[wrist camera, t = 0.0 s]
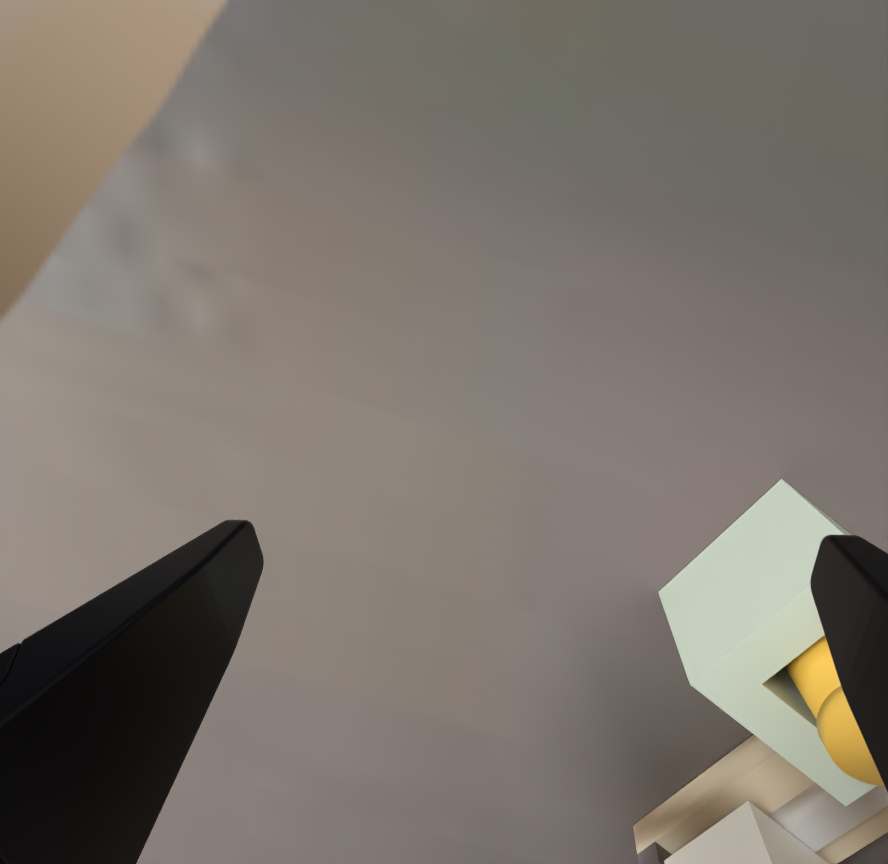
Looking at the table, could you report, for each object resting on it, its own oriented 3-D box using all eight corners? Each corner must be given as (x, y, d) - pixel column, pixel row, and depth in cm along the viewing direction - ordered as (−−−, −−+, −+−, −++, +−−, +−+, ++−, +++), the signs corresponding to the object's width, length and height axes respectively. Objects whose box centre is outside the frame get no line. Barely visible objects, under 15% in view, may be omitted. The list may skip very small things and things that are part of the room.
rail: (724, 896, 29) (740, 951, 27) (633, 825, 29) (640, 875, 27) (1054, 681, 24) (1110, 726, 21) (942, 591, 23) (987, 627, 21)
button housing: (787, 693, 26) (855, 813, 20) (658, 592, 26) (690, 684, 20) (921, 591, 24) (1040, 693, 18) (781, 478, 23) (857, 546, 18)
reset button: (809, 685, 22) (886, 805, 17) (742, 631, 22) (799, 737, 17) (883, 629, 21) (988, 740, 16) (812, 572, 21) (895, 666, 16)
